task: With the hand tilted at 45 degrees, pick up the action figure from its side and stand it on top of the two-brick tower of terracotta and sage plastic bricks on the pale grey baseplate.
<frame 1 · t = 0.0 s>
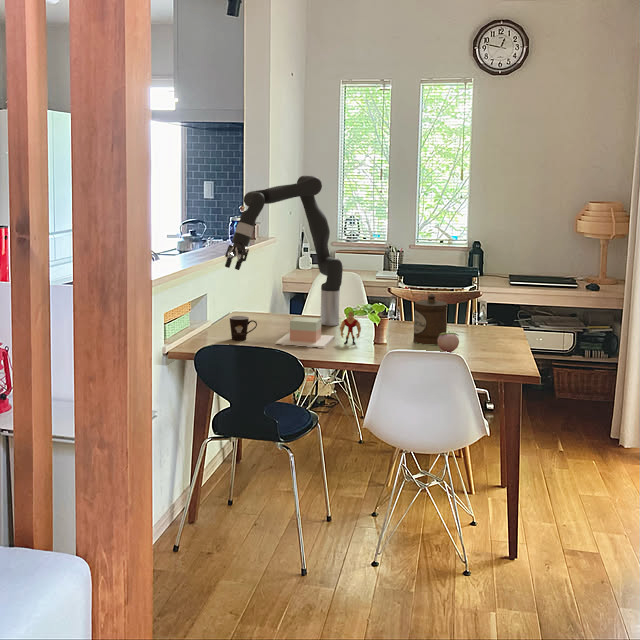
hand: (231, 268, 364), 31 cm above the table, tool tilted 20°, fingers open, 8 cm apart
brick tower: (305, 341, 364), on the table
decorative fruit: (448, 353, 348), on the table
coffee mug: (242, 340, 365), on the table
action figure: (349, 344, 362), on the table
wooden container: (429, 342, 370), on the table
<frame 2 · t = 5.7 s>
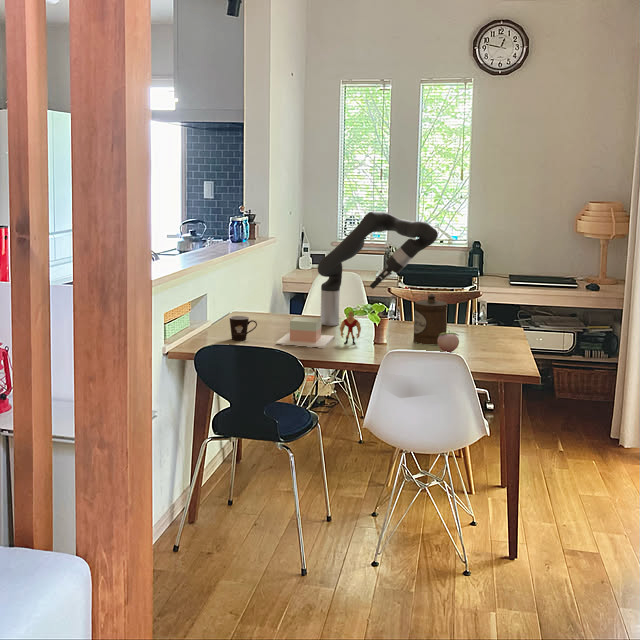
hand: (373, 285, 353), 27 cm above the table, tool tilted 40°, fingers open, 8 cm apart
nothing on the table moved.
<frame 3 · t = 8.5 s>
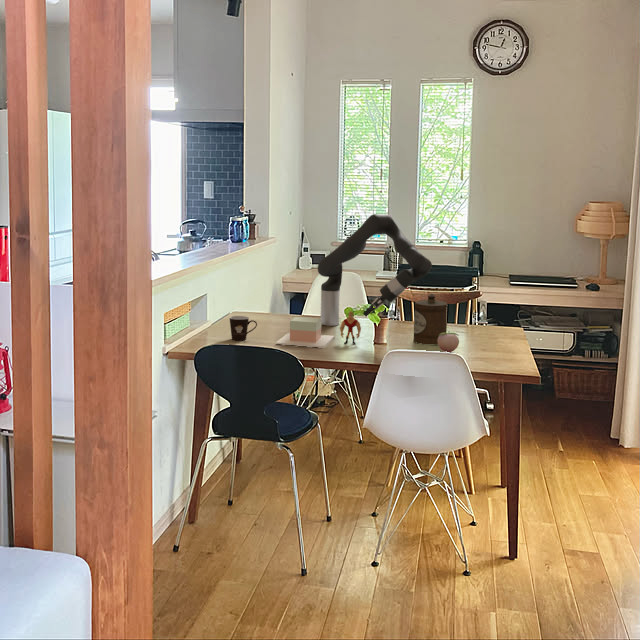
hand: (366, 313, 358), 14 cm above the table, tool tilted 45°, fingers open, 8 cm apart
nothing on the table moved.
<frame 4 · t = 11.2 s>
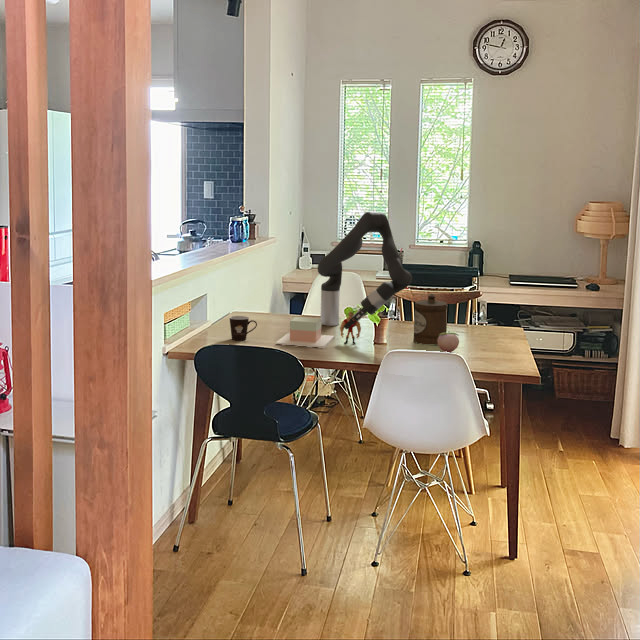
hand: (346, 326, 361), 8 cm above the table, tool tilted 45°, fingers closed on action figure, 3 cm apart
action figure: (349, 344, 362), on the table, touching gripper
everything else where it was.
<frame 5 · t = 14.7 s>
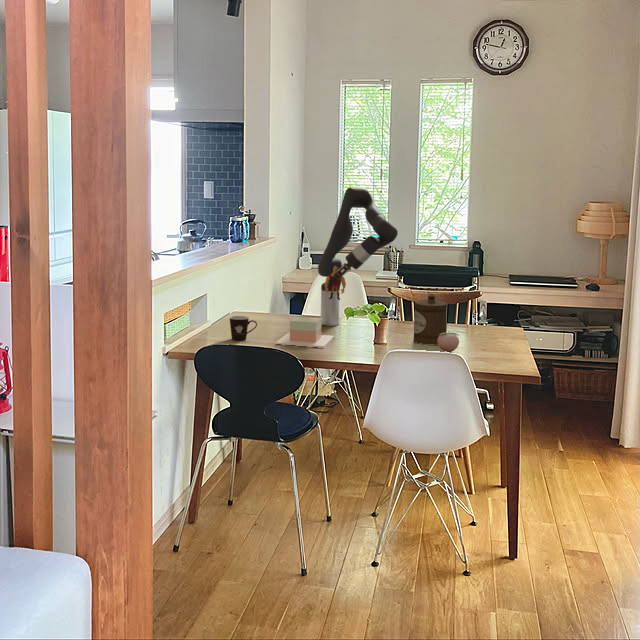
hand: (330, 282, 358), 27 cm above the table, tool tilted 45°, fingers closed on action figure, 3 cm apart
action figure: (334, 299, 359), point 20 cm above the table, touching gripper
everything else where it was.
when the fingers open (19 cm above the table, at t = 18.1 s): action figure drops 1 cm, resting on brick tower.
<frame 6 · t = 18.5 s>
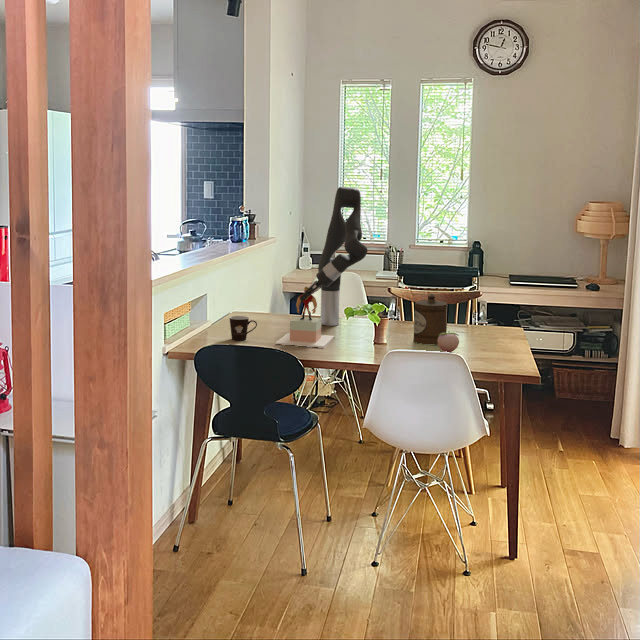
hand: (303, 298, 361), 19 cm above the table, tool tilted 45°, fingers open, 7 cm apart
action figure: (306, 319, 362), point 10 cm above the table, touching brick tower
everything else where it was.
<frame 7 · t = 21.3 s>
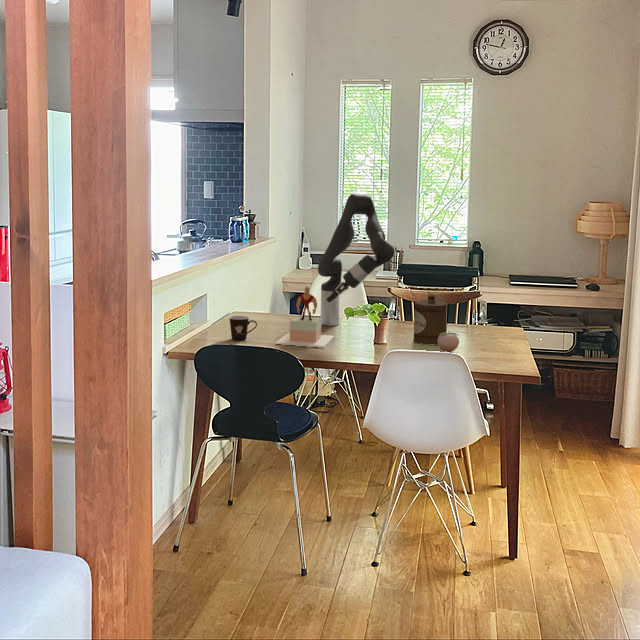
hand: (329, 299, 358), 20 cm above the table, tool tilted 45°, fingers open, 8 cm apart
nothing on the table moved.
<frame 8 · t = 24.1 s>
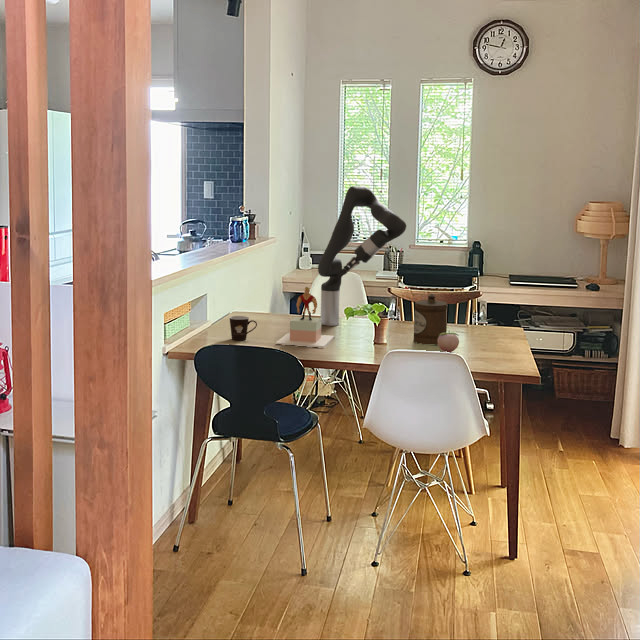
hand: (341, 274, 359), 31 cm above the table, tool tilted 45°, fingers open, 8 cm apart
nothing on the table moved.
at the end: action figure inside the target area on the brick tower (0.2 cm from its centre), point 9.8 cm above the brick tower's base; action figure tilted 0°; the gripper is holding nothing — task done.
